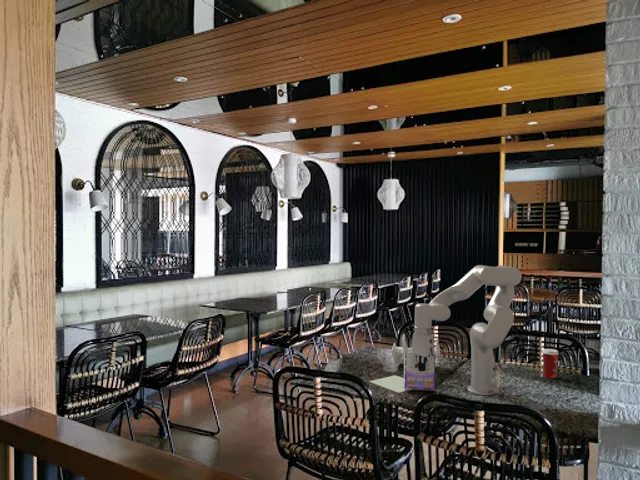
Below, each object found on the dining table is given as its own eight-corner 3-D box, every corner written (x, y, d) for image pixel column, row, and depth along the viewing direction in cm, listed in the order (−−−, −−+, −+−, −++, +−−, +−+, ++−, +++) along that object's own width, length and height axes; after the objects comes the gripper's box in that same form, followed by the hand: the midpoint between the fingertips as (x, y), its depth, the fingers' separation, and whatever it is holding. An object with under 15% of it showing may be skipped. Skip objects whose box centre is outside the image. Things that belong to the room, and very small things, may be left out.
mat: (425, 386, 234) (425, 385, 234) (398, 393, 223) (398, 392, 223) (395, 375, 250) (395, 375, 250) (369, 381, 239) (369, 381, 239)
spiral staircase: (395, 370, 275) (441, 373, 266) (388, 363, 260) (436, 366, 251) (397, 337, 282) (442, 339, 273) (391, 329, 268) (437, 331, 259)
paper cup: (559, 380, 246) (559, 352, 246) (542, 378, 248) (543, 351, 248) (557, 376, 253) (557, 349, 253) (540, 374, 256) (541, 347, 256)
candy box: (433, 390, 228) (433, 354, 233) (435, 390, 222) (435, 353, 227) (403, 388, 229) (404, 352, 234) (404, 388, 224) (405, 351, 229)
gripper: (441, 332, 220) (440, 373, 220) (415, 327, 232) (415, 365, 232) (430, 334, 215) (429, 376, 216) (404, 329, 227) (404, 368, 228)
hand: (421, 370), depth 224 cm, fingers closed
